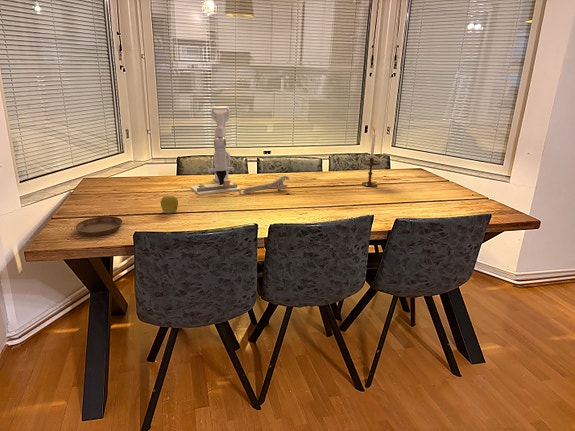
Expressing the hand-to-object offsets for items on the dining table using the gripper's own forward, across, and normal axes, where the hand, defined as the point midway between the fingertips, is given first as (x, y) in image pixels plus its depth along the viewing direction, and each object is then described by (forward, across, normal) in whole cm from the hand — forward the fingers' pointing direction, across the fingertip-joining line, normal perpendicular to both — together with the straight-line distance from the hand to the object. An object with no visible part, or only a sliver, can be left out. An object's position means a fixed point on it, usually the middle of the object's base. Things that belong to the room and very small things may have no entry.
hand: (221, 184), depth 225 cm
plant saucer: (+4, -65, -37) cm, 75 cm away
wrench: (+4, +21, -12) cm, 25 cm away
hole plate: (+4, -2, +4) cm, 6 cm away
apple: (+4, -34, -26) cm, 43 cm away
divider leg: (+2, +3, +4) cm, 5 cm away
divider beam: (+4, -2, +4) cm, 6 cm away
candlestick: (+4, +86, -24) cm, 89 cm away
